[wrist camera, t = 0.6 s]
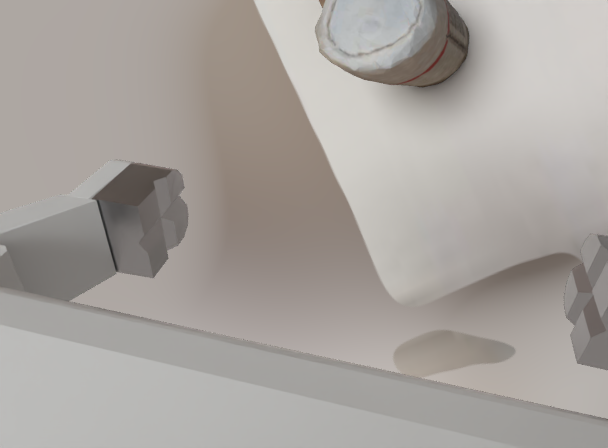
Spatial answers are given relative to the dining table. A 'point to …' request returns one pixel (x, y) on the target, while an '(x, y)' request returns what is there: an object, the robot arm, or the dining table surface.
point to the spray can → (393, 39)
